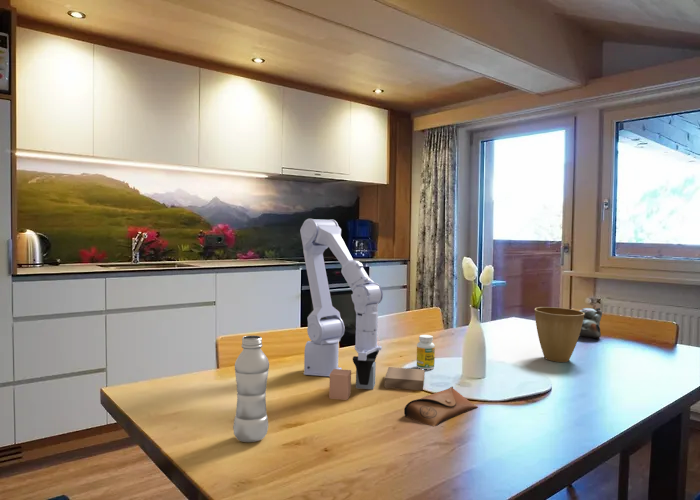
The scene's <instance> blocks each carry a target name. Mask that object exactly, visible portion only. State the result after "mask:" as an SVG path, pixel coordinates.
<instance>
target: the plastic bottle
mask: <svg viewBox="0 0 700 500" xmlns="http://www.w3.org/2000/svg"><path fill="white" fill-rule="evenodd" d="M262 338H263V337H262V336H260V335H245V336H243V337H241V341H242V342H241V348H242V351H241V352H240V354H239V355H238V357H237V358H236V360H235V363H234V373H235V382H236V393H237V394H236V397H237V398H236V409H235V416H234V419H233V427H232V428H233V429H232V430H233V435H234V436H235V438H236V439H237V441H240V442H243V443H255V442H259V441H261V440H263V439H264V438H265V437H266V436H267V434H268V429H269V417H268V413H267V403H266V401H267V400H266V397H267V396H266V395H267V394H266V393H267V392H266V391H267V383H268V382H267V381H268V377H269V372H270V371H269V369H270V362H269V358H268V357H267V355H266V354H265V353H264V351H263V350H262V347H263V341H262V340H263V339H262Z"/></svg>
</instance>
